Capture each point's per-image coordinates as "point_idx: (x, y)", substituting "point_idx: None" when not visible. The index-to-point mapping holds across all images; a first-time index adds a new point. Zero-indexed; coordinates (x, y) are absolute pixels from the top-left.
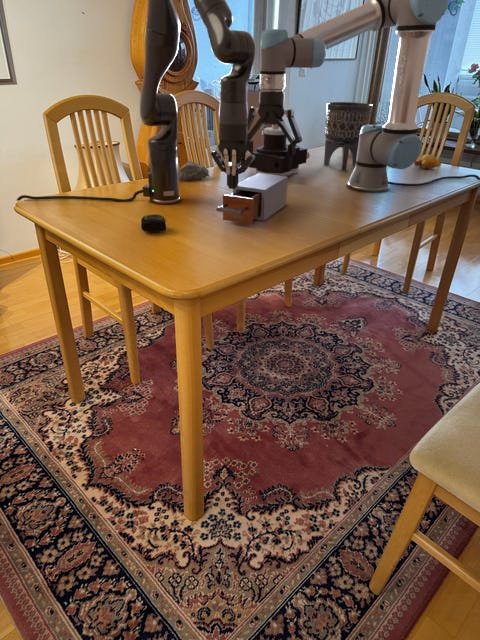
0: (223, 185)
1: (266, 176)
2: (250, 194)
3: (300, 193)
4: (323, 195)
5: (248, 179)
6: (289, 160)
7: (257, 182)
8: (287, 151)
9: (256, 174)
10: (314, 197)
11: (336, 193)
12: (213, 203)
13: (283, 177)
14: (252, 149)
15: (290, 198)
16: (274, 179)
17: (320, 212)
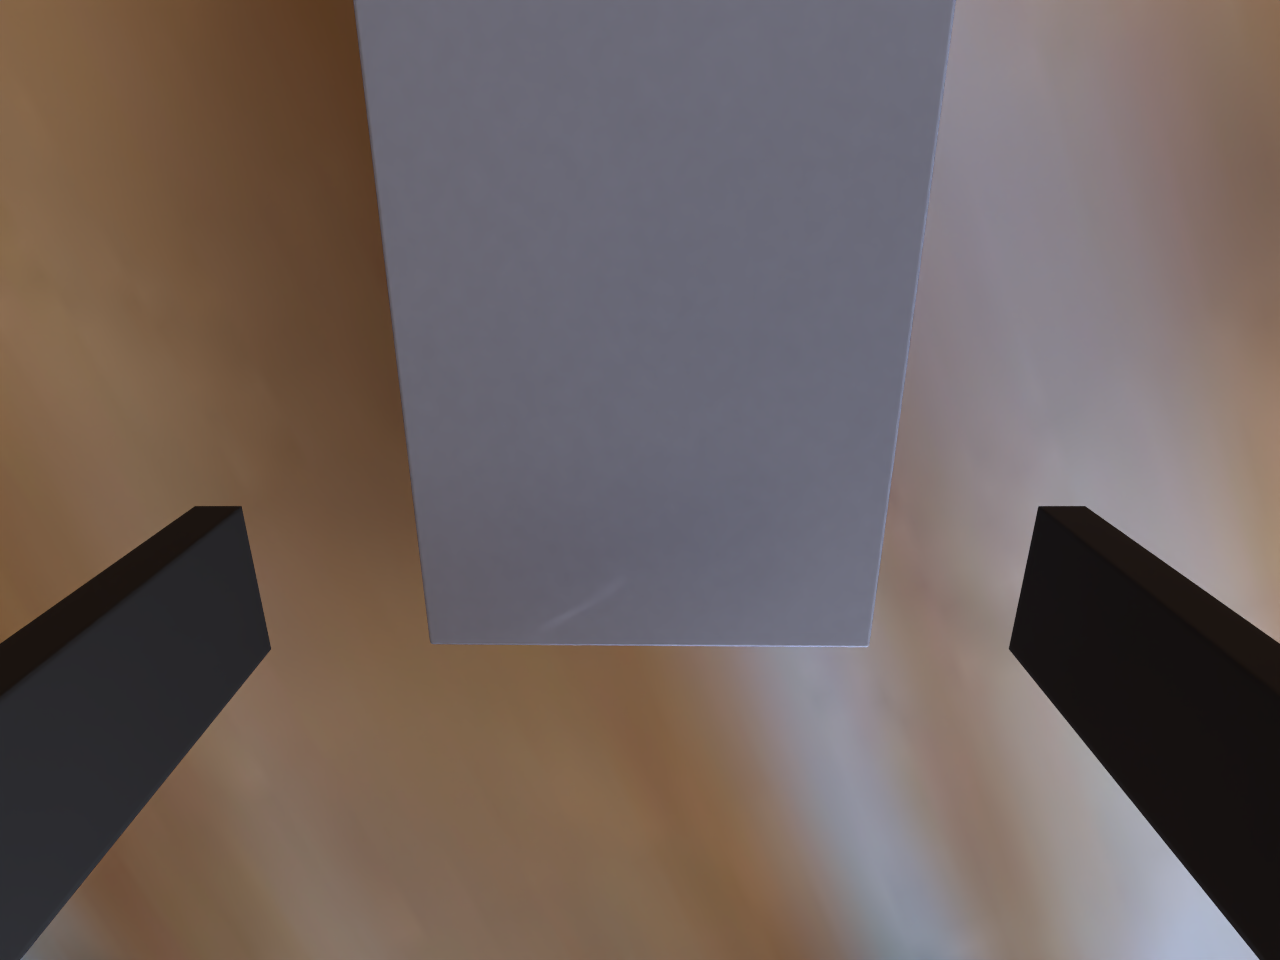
0: None
1: (690, 516)
2: None
3: (543, 852)
4: (360, 876)
5: (880, 189)
6: (120, 574)
7: (664, 58)
8: (24, 681)
9: (867, 558)
10: (395, 803)
11: (303, 955)
12: (1210, 191)
13: (456, 577)
14: (1158, 788)
15: (555, 698)
16: (511, 405)
17: (131, 434)
